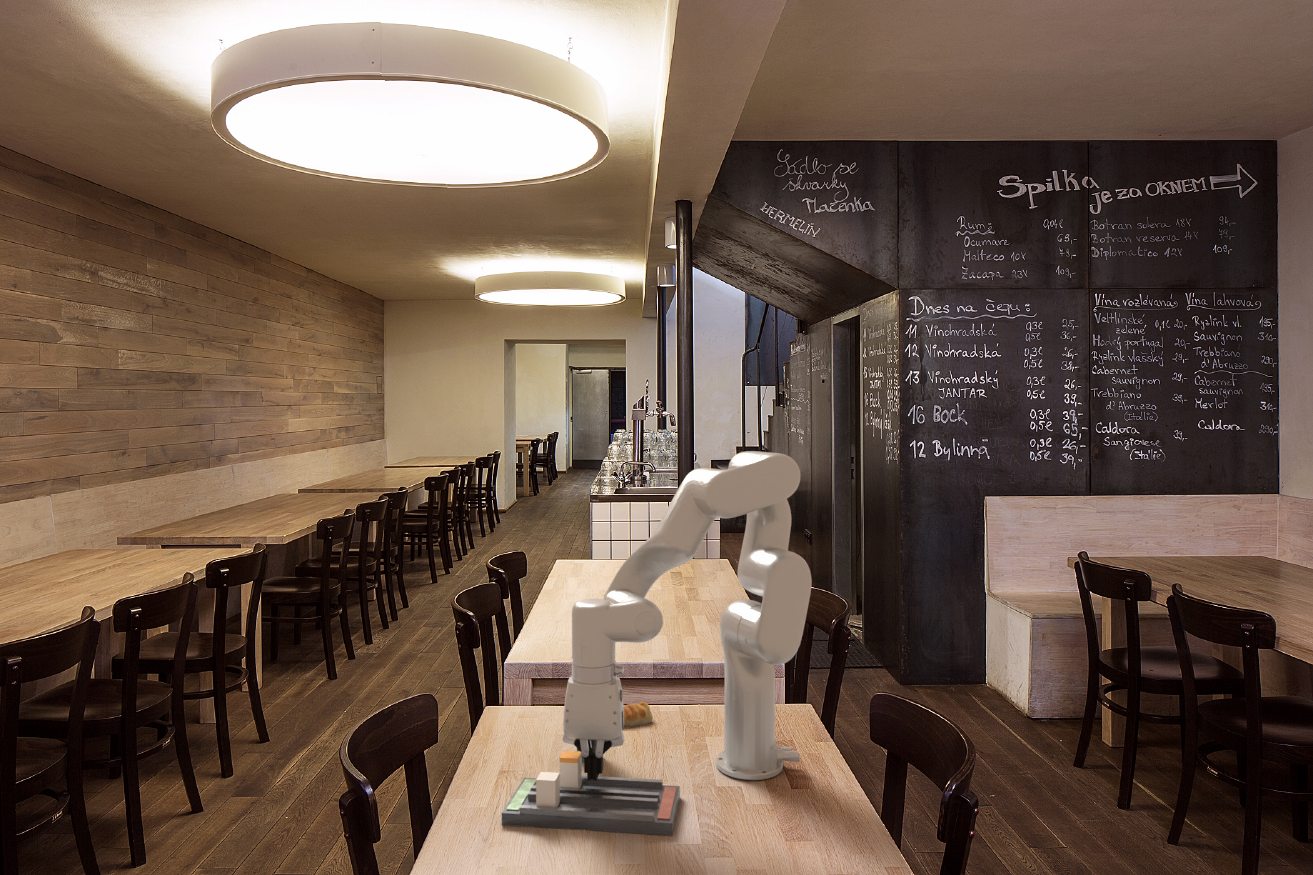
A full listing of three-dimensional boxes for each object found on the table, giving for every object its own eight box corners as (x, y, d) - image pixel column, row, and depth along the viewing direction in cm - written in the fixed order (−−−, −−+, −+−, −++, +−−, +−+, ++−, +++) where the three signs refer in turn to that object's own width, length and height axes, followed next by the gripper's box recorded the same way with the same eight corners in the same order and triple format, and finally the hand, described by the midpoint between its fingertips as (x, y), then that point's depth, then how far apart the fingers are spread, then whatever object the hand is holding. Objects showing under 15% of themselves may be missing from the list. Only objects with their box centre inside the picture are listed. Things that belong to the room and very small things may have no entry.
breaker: (559, 802, 135) (559, 772, 135) (555, 810, 132) (555, 780, 132) (541, 800, 135) (541, 771, 135) (536, 809, 133) (536, 779, 132)
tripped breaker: (581, 783, 142) (581, 751, 142) (577, 791, 139) (577, 758, 139) (563, 782, 142) (563, 750, 142) (559, 790, 139) (559, 757, 139)
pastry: (616, 731, 171) (616, 713, 171) (603, 721, 177) (602, 704, 177) (655, 723, 176) (655, 706, 176) (640, 713, 182) (640, 696, 182)
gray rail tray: (679, 797, 141) (679, 780, 141) (672, 835, 128) (672, 816, 128) (524, 788, 145) (524, 771, 145) (501, 824, 132) (501, 806, 132)
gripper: (639, 667, 142) (639, 769, 143) (556, 663, 144) (556, 765, 144) (633, 680, 135) (633, 789, 135) (545, 677, 137) (546, 784, 137)
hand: (593, 776), depth 140 cm, fingers closed
